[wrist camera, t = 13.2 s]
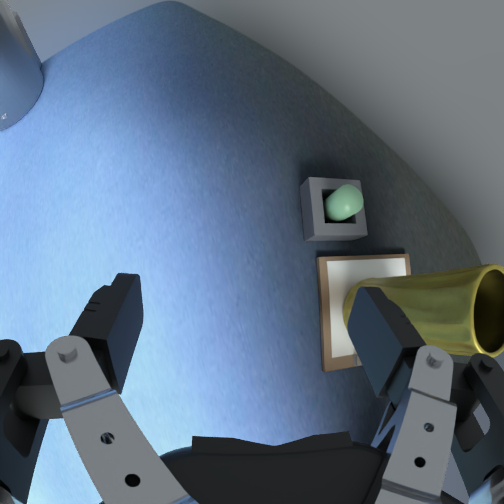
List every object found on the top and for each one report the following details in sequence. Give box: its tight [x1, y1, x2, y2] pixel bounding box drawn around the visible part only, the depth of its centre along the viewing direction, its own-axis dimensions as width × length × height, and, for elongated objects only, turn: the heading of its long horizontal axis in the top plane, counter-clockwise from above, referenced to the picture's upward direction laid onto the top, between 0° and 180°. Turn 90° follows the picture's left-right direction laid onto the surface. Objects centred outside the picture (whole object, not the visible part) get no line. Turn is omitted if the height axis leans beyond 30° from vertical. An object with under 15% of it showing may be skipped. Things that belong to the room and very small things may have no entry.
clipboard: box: [316, 254, 411, 372], centre depth 27 cm, size 10×10×1 cm
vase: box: [343, 264, 504, 357], centre depth 20 cm, size 6×6×14 cm
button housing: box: [299, 177, 368, 241], centre depth 27 cm, size 5×5×2 cm
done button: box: [323, 184, 363, 223], centre depth 25 cm, size 2×2×3 cm
